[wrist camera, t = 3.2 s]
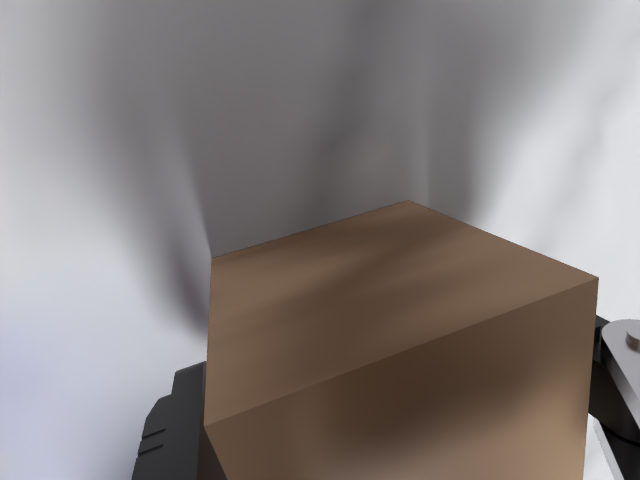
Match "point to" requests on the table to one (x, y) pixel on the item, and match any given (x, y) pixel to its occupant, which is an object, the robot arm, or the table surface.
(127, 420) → the table surface
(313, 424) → the tan block
